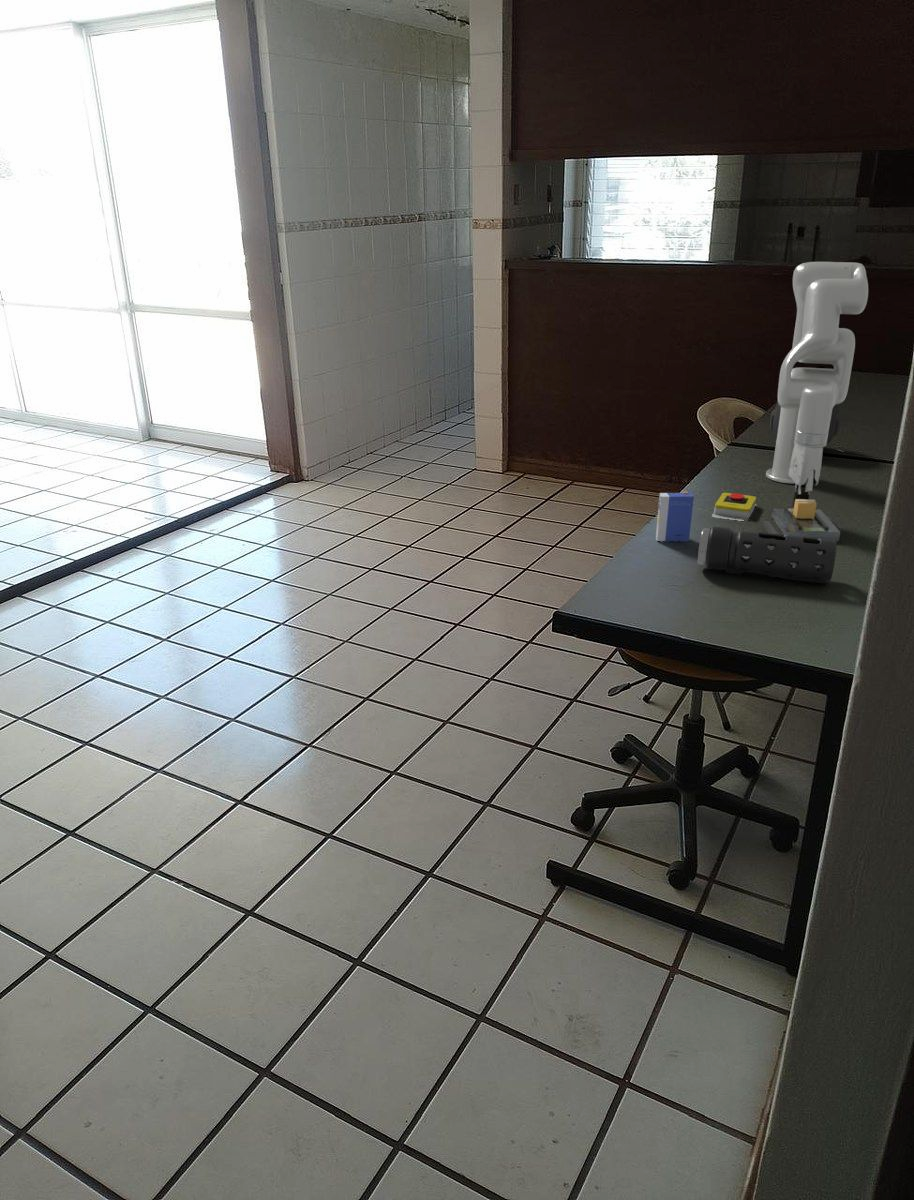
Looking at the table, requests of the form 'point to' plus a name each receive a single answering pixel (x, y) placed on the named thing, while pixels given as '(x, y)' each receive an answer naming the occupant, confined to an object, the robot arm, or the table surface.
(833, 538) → the panel
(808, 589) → the table surface
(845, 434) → the table surface
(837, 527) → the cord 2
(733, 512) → the emergency button
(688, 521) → the walkman
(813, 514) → the cardboard box
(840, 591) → the table surface
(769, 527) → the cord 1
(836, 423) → the gadget
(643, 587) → the table surface
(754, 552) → the muzzle brake
